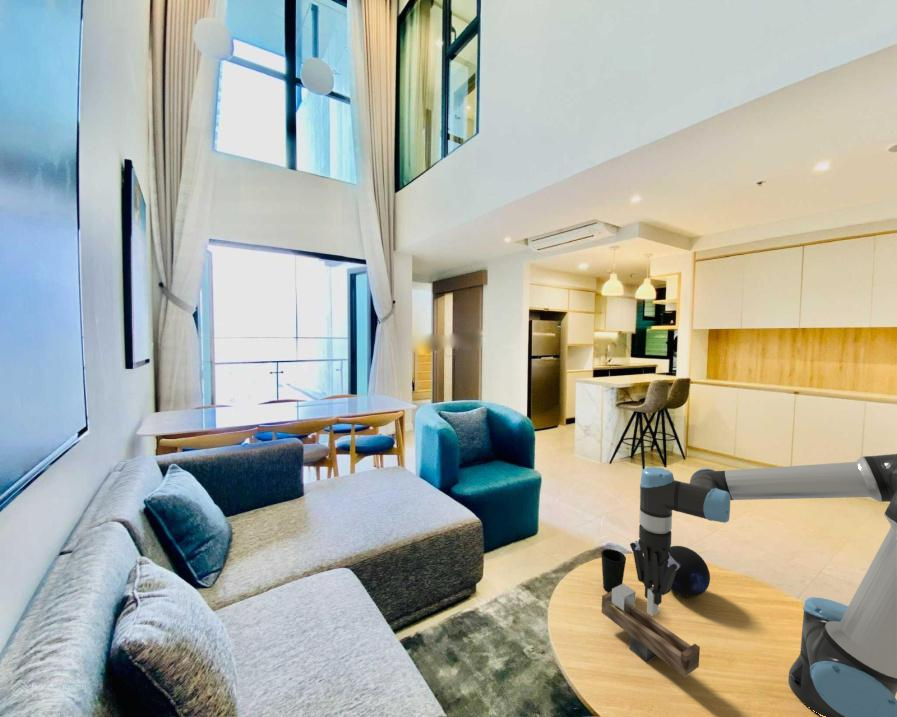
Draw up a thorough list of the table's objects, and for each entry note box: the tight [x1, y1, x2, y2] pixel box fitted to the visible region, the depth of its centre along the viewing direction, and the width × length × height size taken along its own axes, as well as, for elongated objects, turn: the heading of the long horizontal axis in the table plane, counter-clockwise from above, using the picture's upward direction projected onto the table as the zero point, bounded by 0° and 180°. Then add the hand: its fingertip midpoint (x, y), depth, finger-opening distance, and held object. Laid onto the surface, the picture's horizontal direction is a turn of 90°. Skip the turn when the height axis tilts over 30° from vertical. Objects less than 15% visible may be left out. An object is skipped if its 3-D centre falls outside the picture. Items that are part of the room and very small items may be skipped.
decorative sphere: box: [663, 545, 711, 598], centre depth 127 cm, size 15×15×15 cm
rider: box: [611, 583, 636, 614], centre depth 109 cm, size 4×5×7 cm
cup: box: [600, 548, 627, 593], centre depth 128 cm, size 8×8×12 cm
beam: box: [601, 591, 701, 678], centre depth 103 cm, size 24×6×9 cm, turn 29°
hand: (652, 612), depth 101 cm, fingers closed
